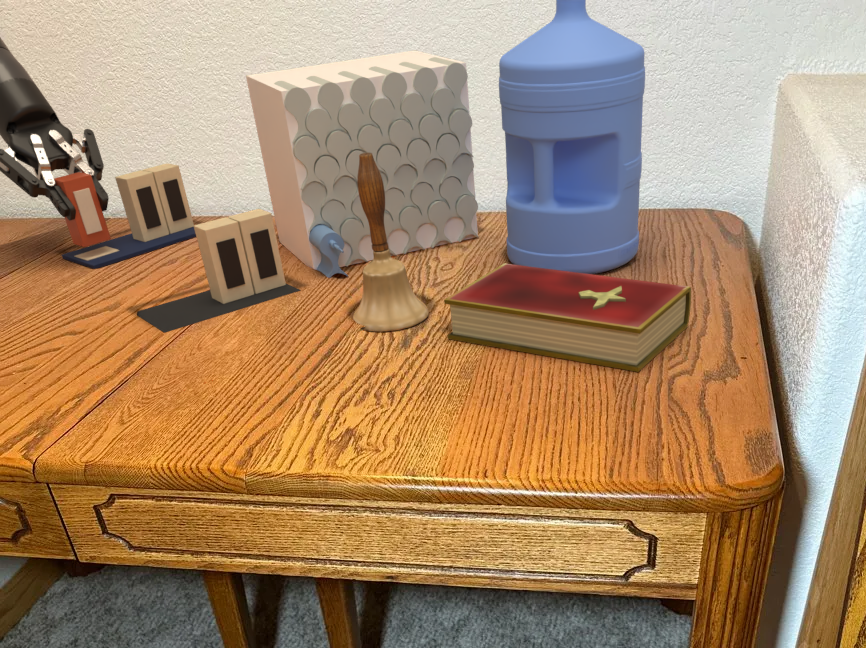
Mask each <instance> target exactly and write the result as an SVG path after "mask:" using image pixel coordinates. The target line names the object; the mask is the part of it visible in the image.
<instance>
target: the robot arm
mask: <svg viewBox="0 0 866 648" xmlns="http://www.w3.org/2000/svg"><path fill="white" fill-rule="evenodd" d="M0 137H1V138H2V140H3V142H5V144H6V145H7V148H5V149H3V148H0V172H1V173H2V174H3V175H4V176H5V177H7V178H8V179H9V180H10V181H12V182H13V183H14V185H16V186H17V187H19V188H20V189H21V190H22V191H24V192H25V193H26V195H28V196H30V197H31V198H38V197H39V196H44V197H46V198H48V199H49V201H50V202H51V203H52V205H53V206H54V208H55V209H56V211H57V212H58V214H59V215H60V216H62V217H63V218H65V217H67V219H68V220H69V221H70V220H74V219H75V216H76V209H75V207H74V206H73V204H72V203H71V201H70V200H69V199H68V198H67V196H66V195H65V193H64V192H63V190H62V189H61V188H60V186H59V185H58V186H56V185H55V183H56V182H55V179H54V178H55V177H54V175H53V172H54V171H57V170H63V171H65V173H67V175H70V174H73V173H77V172H82V173H86V174H90V175H91V177H92V180H93V183H94V186H95V190H96V193H97V197H98V200H99V203H100V206H101V209H102V212H105V211H108V205H109V193H108V192H107V191H106V190H105V189H104V187H103V185H102V184H101V183H100V181H102V179H103V171H104V168H105V167H104V166H105V164H104V161H103V158H102V156H101V152H100V149H99V146H98V142H97V139H96V136H95V132H94V131H93V130H92V129H90V128H85V129H84V130H83V133H80V132H72V131H71V130H70V128H68V127H67V126H65V125H64V124H63V123H62V122H61V121H60V119H59V117H58V115H57V113H56V111H55V109H53V107H52V105H51V104H50V102H49V101H48V99H47V98H46V97H45V96H44V94H43V92H42V91H41V90H40V88H39V87H38V85H37V84H36V82H35V81H34V80H33V78H32V77H31V75H30V74H29V73H28V71H27V70H26V68H25V67H24V66H23V65H22V64H21V62H20V61H19V60H18V59H17V58H16V57H15V56H14V55H13V53H12V52H11V50H10V49H9V47H8V46H7V45H6V43H5V42H4V40H3V38H2V37H1V36H0ZM74 145H76V147H78V149H79V150H80V152H81V153H82V154H84V156H85V158H86V161H87V163H86V162H85V160H84V159H83V157H82V155H81V153H79V151H77V150H76V149H75V148H74V147H73V146H74ZM19 161H20V162H19ZM21 163H23V164H26V165H27V166H29V167H31V168H33V172H34V174H33V173H32V172H31V171H30V170H28V169H27V168H26V167H25V166H24V165H23V164H21Z"/></svg>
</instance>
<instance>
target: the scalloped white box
mask: <svg viewBox="0 0 866 648" xmlns="http://www.w3.org/2000/svg"><path fill="white" fill-rule="evenodd" d="M245 78H246V83H247V88H248V94H249V98H250V102H251V107H252V112H253V118H254V122H255V128H256V132H257V138H258V142H259V148H260V153H261V157H262V163H263V166H264V172H265V177H266V181H267V186H268V191H269V197H270V201H271V206H272V212H273V216H274V221H275V225H276V231H277V235H278V241H279V243H280V244H281V245H282V246H283V247H285V248H286V249H287V250H288V251H289V252H290V253H291V254H292V255H294V256H295V257H296V258H297V259H298V260H300V262H302V263H303V264H304V265H305V266H306V267H309V268H310V269H313V270H315V271H317V272H320V273H321V274H323V275H324V276H325V277H326V278H328V279H331V278H332V277H333V276H334V275H336V274H342V275H344V276H346V277H349V275H348V274H347V273H346V272H345V271H344V270H342V269H341V268H342V267H347V268H348V267H349V266H352V265H357V264H361V263H365V262H366V263H369V262H371V261H372V260H373V259H374V255H373V249H372V243H371V234H370V227H369V222H368V219H367V217H366V215H365V212H364V210H363V208H362V204H361V201H360V197H359V192H358V184H357V178H358V169H359V155H360V154H362V153H372V155H373V158H374V161H375V163H376V165H377V167H378V169H379V171H380V174H381V177H382V180H383V185H384V191H385V211H384V226H385V232H386V237H387V243H388V248H389V251H390V256H391V257H393V256H396V257H397V255H402V254H403V255H406V254H407V253H411V252H416V251H420V250H424V251H425V250H426V249H430V248H432V249H434V248H435V247H437V246H438V247H439V246H443V245H448V244H452V245H453V243H457V242H458V243H461V242H462V241H466V240H470V239H474V238H478V239H480V236H479V232H478V230H479V229H478V215H477V212H478V210H479V204H478V201H477V199H476V188H475V172H474V171H475V170H474V168H475V163H474V160H473V158H474V155H473V145H472V144H473V143H472V130H471V129H472V126H473V119H472V116H471V113H470V102H469V86H468V85H469V84H468V79H469V76H468V71H467V62H466V61H461V60H457V59H452V58H449V57H444V56H440V55H436V54H432V53H428V52H423V51H420V50H416V49H415V50H409V51H400V52H394V53H388V54H381V55H375V56H367V57H361V58H354V59H348V60H340V61H334V62H327V63H320V64H314V65H307V66H301V67H295V68H294V67H293V68H288V69H286V68H285V69H281V70H273V71H268V72H260V73H254V74H248V75H245Z"/></svg>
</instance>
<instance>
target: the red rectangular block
mask: <svg viewBox="0 0 866 648" xmlns="http://www.w3.org/2000/svg"><path fill="white" fill-rule="evenodd" d="M54 179H55V182H56V183H55V185H56V186H58V185H59V186H60V188H61V189H62V190H63V192H64V193H65V195H66V196H67V198H68V199H69V200H70V201H71V203H72V204H73V206H74V207H75V209H76V216H75V219H74V220H70V221H69V220H68V219H67V217H64V220H65V223H66V227H67V229H68V232H69V235H70V238H71V241H72V243H73V245H76V246H79V247H82V248H85V247H88V246H92V245H95V244H98V243H101V242H105V241H108V240H111V239H112V238H111V234H110V232H109V228H108V225H107V222H106V218H105V215H104V211H102V209H101V206H100V203H99V200H98V197H97V193H96V190H95V186H94V183H93V180H92V177H91V175H90V174H86V173H82V172H77V173H73V174H70V175H69V174H67V175H63V176H59V177H54Z"/></svg>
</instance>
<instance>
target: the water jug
mask: <svg viewBox="0 0 866 648" xmlns="http://www.w3.org/2000/svg"><path fill="white" fill-rule="evenodd" d="M586 2H587V1H586V0H555V14H554V17H553V18H552V20H551V21H549V22H548V23H547V24H545V25H544V26H543V27H541V28H539V29H538V30H536V32H533V34H531V35H530V36H528V37H526V38H525V39H524V40H522V41H520V43H518V44H517V45H516V46H513V47H512V48H511V49H510V50H508V51H507V52H505V53H504V54H503V55H502V56H500V59H499V62H498V64H499V65H498V70H499V77H498V96H499V97H498V99H499V105H500V109H501V128H502V130H503V131H504V141H505V163H506V164H505V166H506V183H507V184H506V185H507V186H506V187H507V188H506V198H505V211H506V230H507V232H506V233H507V237H506V255H507V258H508V260H509V261H510V263H511V264H513V265H521V266H529V267H537V268H545V269H553V270H561V271H569V272H577V273H585V274H593V275H598V274H601V273H605V272H609V271H613V270H615V269H618V268H621V267H622V266H624V265H626V264H628V263H629V262H631V260H633V258H635V256H636V255H637V253H638V252H639V251H638V250H639V245H640V231H639V214H640V212H639V210H640V187H641V186H640V185H641V184H640V183H641V178H642V171H643V170H642V169H643V168H642V167H643V153H642V133H643V110H644V109H643V105H644V95H645V88H646V67H645V50H644V47H643V46H642V45H641V44H639V43H637V42H636V41H634V40H632V39H630V38H629V37H627V36H624V35H623V34H621V33H619V32H617V31H615V30H614V29H612V28H610V27H608V26H606V25H604V24H602V23H600V22H598V21H597V20H595V19H593V18H591V17H590V16H589V14H588V12H587V6H586V5H587V3H586Z"/></svg>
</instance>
